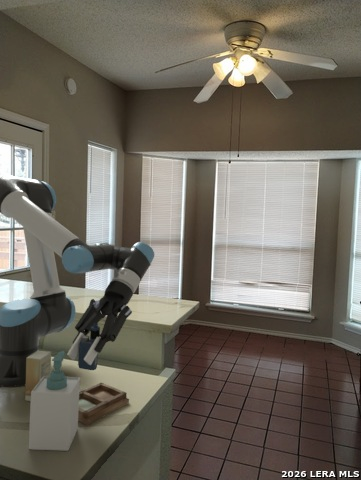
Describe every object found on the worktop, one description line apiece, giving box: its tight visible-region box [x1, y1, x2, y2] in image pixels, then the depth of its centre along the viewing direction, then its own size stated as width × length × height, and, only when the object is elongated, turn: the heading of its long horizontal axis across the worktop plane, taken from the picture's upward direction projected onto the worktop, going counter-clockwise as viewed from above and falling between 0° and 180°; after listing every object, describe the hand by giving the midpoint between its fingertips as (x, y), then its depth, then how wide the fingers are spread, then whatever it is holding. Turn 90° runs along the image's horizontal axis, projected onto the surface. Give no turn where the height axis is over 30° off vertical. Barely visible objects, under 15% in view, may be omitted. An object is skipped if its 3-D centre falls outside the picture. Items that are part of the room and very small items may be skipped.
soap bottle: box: [28, 350, 81, 452], centre depth 85 cm, size 9×9×19 cm
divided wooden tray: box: [78, 382, 130, 426], centre depth 102 cm, size 12×15×3 cm
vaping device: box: [77, 323, 101, 371], centre depth 98 cm, size 3×5×12 cm, turn 78°
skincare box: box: [24, 349, 52, 402], centre depth 105 cm, size 6×4×12 cm
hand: (78, 359), depth 95 cm, fingers closed on vaping device, 5 cm apart
